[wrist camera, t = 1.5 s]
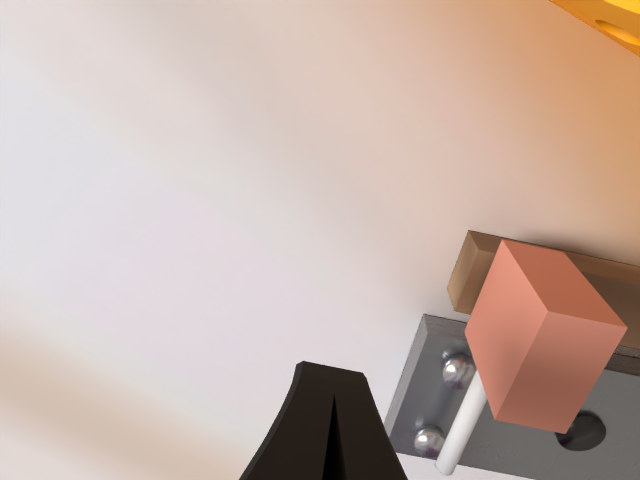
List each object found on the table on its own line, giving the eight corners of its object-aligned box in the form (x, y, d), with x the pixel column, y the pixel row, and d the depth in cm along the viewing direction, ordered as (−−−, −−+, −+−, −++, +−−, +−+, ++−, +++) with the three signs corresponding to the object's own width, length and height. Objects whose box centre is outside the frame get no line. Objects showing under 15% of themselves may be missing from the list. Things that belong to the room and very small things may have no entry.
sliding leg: (465, 457, 20) (491, 559, 16) (416, 447, 20) (431, 548, 16) (563, 252, 16) (628, 327, 12) (502, 239, 15) (548, 311, 12)
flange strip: (733, 496, 22) (762, 533, 21) (382, 427, 21) (385, 460, 20) (820, 395, 19) (860, 429, 18) (423, 314, 19) (429, 341, 17)
